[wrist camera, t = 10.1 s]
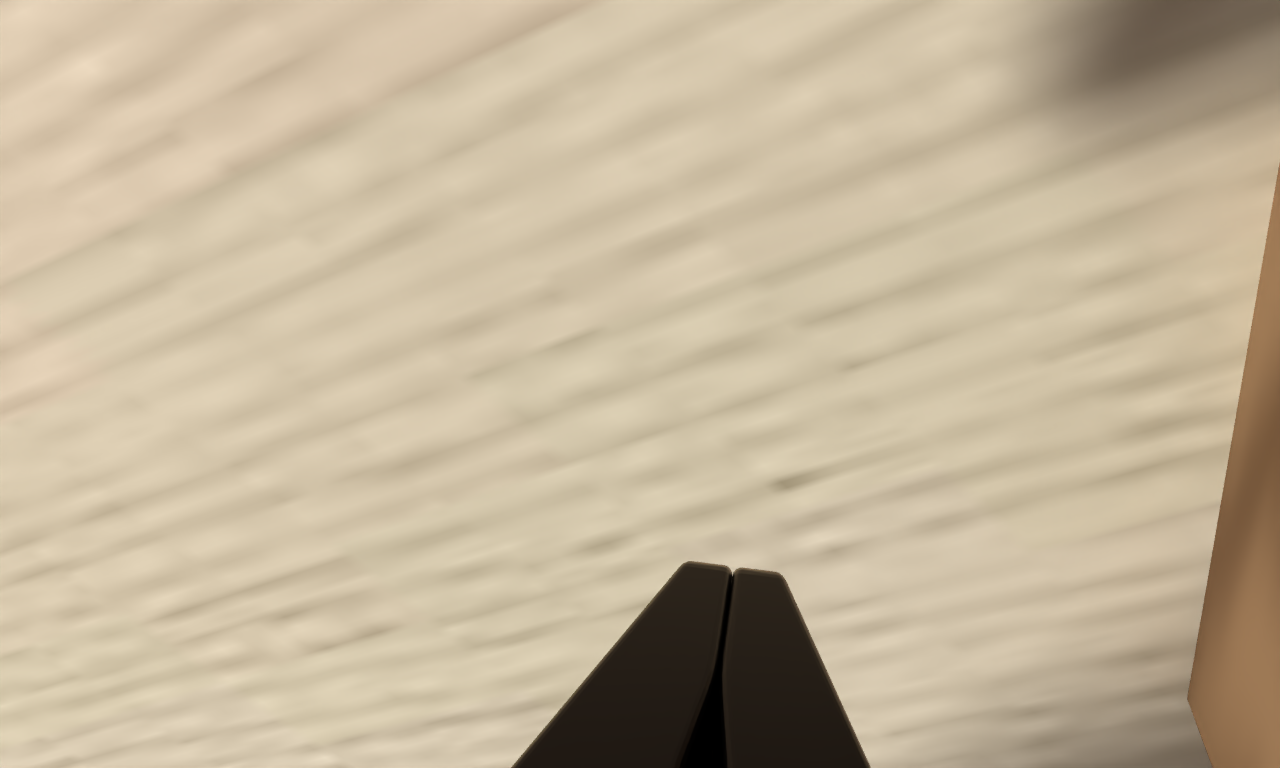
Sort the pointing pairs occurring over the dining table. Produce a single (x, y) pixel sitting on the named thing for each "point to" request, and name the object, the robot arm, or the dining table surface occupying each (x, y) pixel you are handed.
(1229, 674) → the slab
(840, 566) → the dining table surface
